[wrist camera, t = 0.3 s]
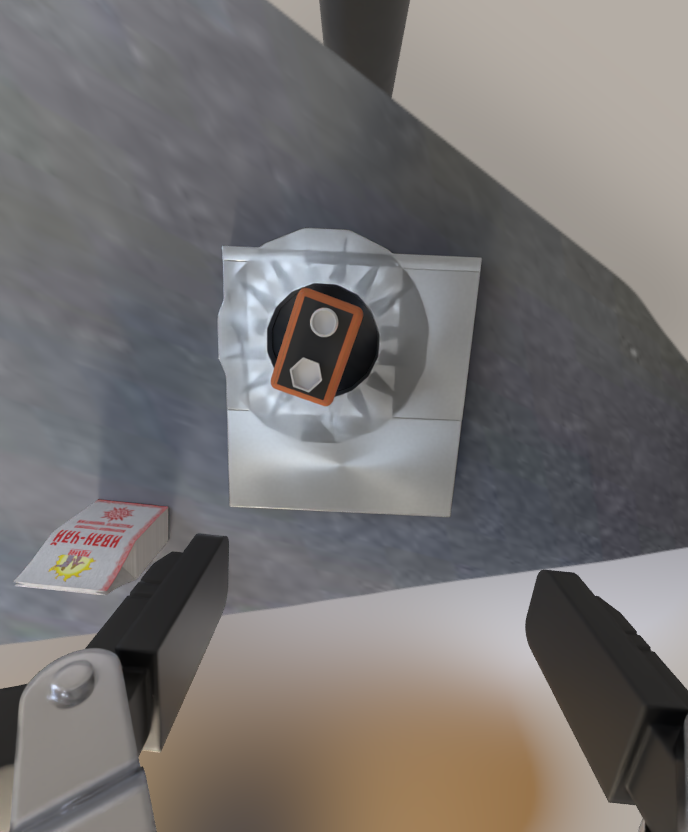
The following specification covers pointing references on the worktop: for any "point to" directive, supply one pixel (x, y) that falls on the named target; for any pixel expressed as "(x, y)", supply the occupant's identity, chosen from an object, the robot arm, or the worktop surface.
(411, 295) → the sink plate
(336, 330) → the battery
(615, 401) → the worktop surface
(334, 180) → the worktop surface
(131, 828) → the robot arm
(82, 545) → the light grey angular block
